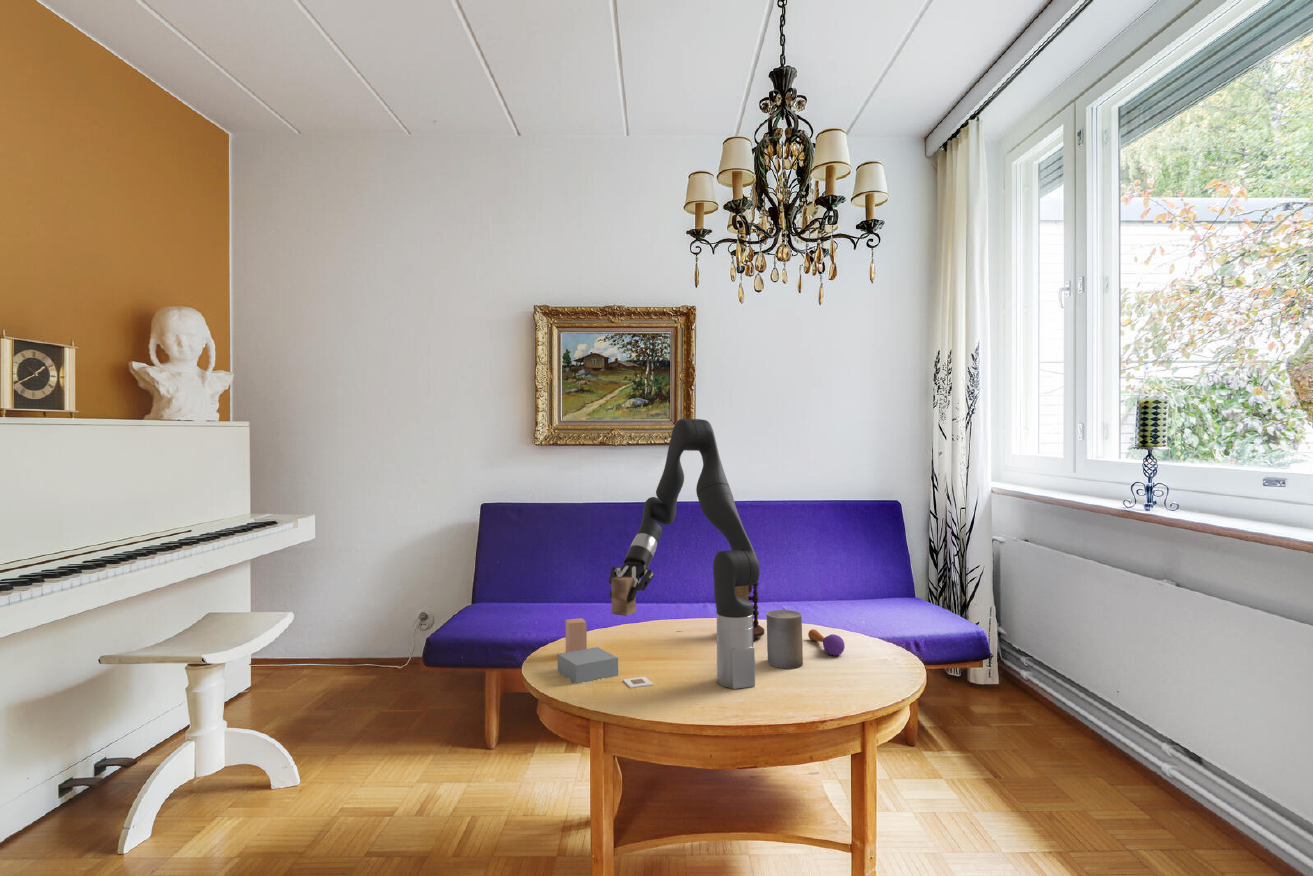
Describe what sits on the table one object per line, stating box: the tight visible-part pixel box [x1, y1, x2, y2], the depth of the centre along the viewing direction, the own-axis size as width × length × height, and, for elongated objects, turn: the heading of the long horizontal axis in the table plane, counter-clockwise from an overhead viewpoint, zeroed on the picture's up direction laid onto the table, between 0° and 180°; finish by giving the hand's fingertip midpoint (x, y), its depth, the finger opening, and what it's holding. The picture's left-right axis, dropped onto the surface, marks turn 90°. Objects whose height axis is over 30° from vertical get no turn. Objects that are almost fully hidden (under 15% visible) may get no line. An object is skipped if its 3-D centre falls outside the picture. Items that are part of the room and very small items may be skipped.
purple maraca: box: [807, 628, 846, 657], centre depth 194 cm, size 6×6×20 cm
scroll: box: [735, 581, 765, 642], centre depth 207 cm, size 15×15×20 cm
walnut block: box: [611, 576, 637, 617], centre depth 185 cm, size 5×5×10 cm
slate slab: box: [557, 646, 619, 685], centre depth 171 cm, size 12×12×5 cm
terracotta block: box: [565, 618, 588, 652], centre depth 188 cm, size 5×5×10 cm
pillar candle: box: [765, 608, 804, 669], centre depth 179 cm, size 10×10×15 cm
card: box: [622, 676, 654, 689], centre depth 164 cm, size 6×6×1 cm
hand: (620, 599), depth 183 cm, fingers closed on walnut block, 5 cm apart
